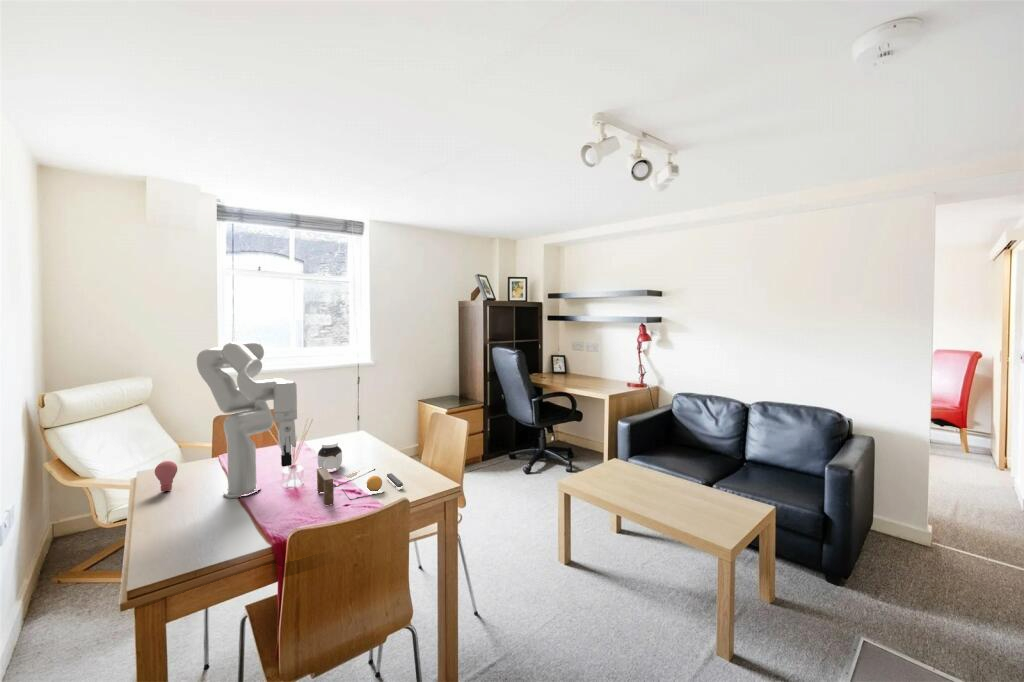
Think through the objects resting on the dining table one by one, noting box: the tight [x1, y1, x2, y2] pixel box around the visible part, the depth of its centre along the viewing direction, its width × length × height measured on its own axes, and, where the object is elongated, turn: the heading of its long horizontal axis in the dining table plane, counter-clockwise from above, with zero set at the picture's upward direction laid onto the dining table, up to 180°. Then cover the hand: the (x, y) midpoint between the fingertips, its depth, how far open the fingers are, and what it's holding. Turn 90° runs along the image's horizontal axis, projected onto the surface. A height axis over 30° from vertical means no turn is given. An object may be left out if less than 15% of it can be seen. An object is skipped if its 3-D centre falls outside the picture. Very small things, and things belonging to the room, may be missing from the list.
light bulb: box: [154, 460, 178, 493], centre depth 177 cm, size 7×7×12 cm
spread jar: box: [317, 440, 343, 470], centre depth 204 cm, size 12×11×12 cm
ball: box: [366, 475, 383, 491], centre depth 178 cm, size 6×6×6 cm
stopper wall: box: [386, 473, 404, 487], centre depth 186 cm, size 14×2×2 cm, turn 33°
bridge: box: [316, 467, 335, 506], centre depth 171 cm, size 3×15×10 cm, turn 33°
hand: (286, 465), depth 163 cm, fingers closed
